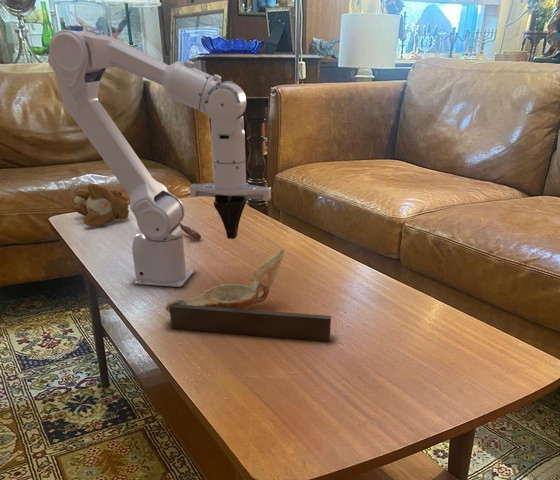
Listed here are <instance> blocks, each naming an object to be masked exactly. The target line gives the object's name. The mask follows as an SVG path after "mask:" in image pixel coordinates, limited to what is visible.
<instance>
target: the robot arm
mask: <svg viewBox="0 0 560 480" xmlns="http://www.w3.org/2000/svg"><path fill="white" fill-rule="evenodd" d="M47 57H48V58H47V63H48V65H49V67H50V68H51V69H52V70H53V72H54V75H55V79H56V82H57V87H58V90H59V93H60V97H61V101H62V103H63V106H64V108H65V109H66V111H68V112H67V113H69V114H70V116H71V117H72V118H73V120H74V121H75V123H76V124H77V126H78V127H79V128H80V130H82V132H83V133H84V135H85V137H86V139H88V140H89V142H90V143H91V145H92V146H93V148H94V149H95V150H96V151H97V154H99V156H100V157H101V158H102V160H103V161H104V163H105V164H106V165H107V167H108V168H109V169H110V171H111V172H112V174H113V175H114V176H115V178H116V180H118V182H119V183H120V185H121V186H122V187H123V189H124V190H125V191H126V193H127V195H128V196H129V209H130V211H131V212H132V213H133V215H134V218H135V219H136V223H137V227H138V229H139V231H140V232H141V233H137V234H136V235H135V236H134V237H133V240H132V245H131V246H132V247H131V249H132V251H131V252H132V260H133V266H134V267H133V268H134V275H135V279H136V280H135V281H134V284H135V285H145V286H161V287H173V288H181V287H182V286H184V285H185V283H186V282H187V281H188V280H189V279H190V277H191V276H192V275H193V274H194V270H193V269H187V266H186V256H185V255H186V254H185V246H184V245H185V244H184V243H185V242H184V234H183V230H182V229H181V227H180V223H181V222H182V221H183V220H184V217H185V207H184V204H183V203H182V201H181V199H179V198H178V197H177V196H176V195H175V194H172V193H171V192H170V191H169V190H168V189H167V188H166V186H165V184H163V183H161V182H159V181H157V180H156V179H154V178H153V176H152V175H151V174H150V172H149V170H148V169H147V167H146V166H145V165H144V163H143V162H142V160H141V159H140V158H139V156H138V155H137V153H136V152H135V151H134V149H133V148H132V146H131V145H130V143H129V142H128V140H127V139H126V137H125V136H124V134H122V132H121V130H120V129H119V127H118V126H117V125H116V123H115V121H113V119H112V118H111V116H110V115H109V113H108V112H107V110H106V108H104V105H102V103H101V102H100V100H99V90H100V85H101V84H100V83H101V82H102V79H103V77H104V75H105V73H106V70H107V69H108V68H109V69H110V68H117V69H120V70H123V71H125V72H127V73H130V74H133V75H135V76H138V77H140V78H143V79H146V80H148V81H151V82H153V83H156V84H157V85H160V86H162V87H163V90H164V91H165V93H166V95H167V97H168V98H170V99H172V100H174V101H177V102H179V103H181V104H183V105H186V106H188V107H190V108H192V109H195V110H197V111H198V112H201V113H202V114H203V113H206V114H207V116H208V118H209V119H210V129H211V130H210V131H211V132H210V138H211V155H212V173H213V183H192V184H190V185H189V195H190V197H191V198H197V197H203V198H204V197H205V198H214V201H213V206H214V208H215V210H216V212H217V214H218V215H219V217H220V219H221V221H222V224H223V226H224V230H225V233H226V237H227V239H228V240H229V239H230V240H235V239H236V238H237V237H238V231H239V225H240V222H241V217H242V215H243V211H244V208H245V207H246V204H247V201H248V200H262V201H265V202H270V200H271V199H272V187H269V186H260V185H253V184H247V171H246V169H247V168H246V167H247V166H246V136H245V133H246V132H245V128H244V127H245V122H244V116H243V114H244V112H245V111H246V108H247V96H246V93H245V91H244V90H243V89H242V88H241V87H240V86H239V85H238V84H236V82H234V81H232V80H226V81H223V82H222V76H221V75H219V74H215V73H214V74H213V75H212V74H209V73H207V72H205V71H203V70H200V69H198V68H196V67H195V62H193V61H191V60H188V59H186V60H184V62H183V61H181V60H177V61H175V62H174V63H171V64H168V63H165V62H163V61H161V60H159V59H157V58H155V57H153V56H151V55H149V54H147V53H145V52H144V51H141V50H139V49H137V48H135V47H134V46H132V45H129V44H128V43H125V42H123V41H122V40H120V39H117V38H115V37H112V36H109V35H105V34H100V33H99V32H97V31H94V30H89V29H87V30H81V31H80V30H70V29H60V30H58V31H56V32H55V33H54V34H53V35H52V37H51V38H50V42H49V48H48V56H47Z"/></svg>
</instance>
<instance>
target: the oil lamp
mask: <svg viewBox="0 0 560 480" xmlns="http://www.w3.org/2000/svg"><path fill="white" fill-rule="evenodd" d="M284 255H285V250H284V248H282V249H280V250H279V251H278V252H277V253H276V254H273V255H272V256H271V257H269V258H268V259H266V260H265V261H264V262H262V263H261V264H260V265H259V266H258V267H257V268H255V270H254V271H253V272H252V277H253V278H254V280H253V281H252V283H251V284H250V285H245V284H239V283H223V284H219V285H215V286H212V287H211V288H209V289H204V290H203V293H202V294H200V295H198V296H196V297H193V298H190V299H188V298H183V299H178V300H177V299H176V300H172V301H170V302H169V303H168V304H167V305H166V306H165V310H166V312H168V313H169V314H170V309H169V306H170V305H171V304H181V305H194V306H207V307H220V308H234V309H247V310H251V309H252V307H253V306H254V305H257V304H261V303H263V302H264V301H265V300H267V298H268V296H269V293H270V287H271V286H272V285H273V282H274V281H275V278H276V276H277V274H278V272H279V269H280V267H281V266H282V265H281V264H282V262H283V260H284ZM261 292H263V293H262V294H261V295H259V294H260V293H261Z"/></svg>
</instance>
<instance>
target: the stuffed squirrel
mask: <svg viewBox="0 0 560 480" xmlns="http://www.w3.org/2000/svg"><path fill="white" fill-rule="evenodd" d="M86 188H87V189H83V188H81V189H80V188H77V190H76V191H75V194H74V196H73V197H72V204H73V205H74V206H73V207H72V208H73V210H74V212H76V213H78V214H79V215H80V216H84V218H83V220H82V222H83V224H84V225H86V226H104V225H106V224H108V223H110V222H113V221H114V220H119V221H122V220H125V219H129V216H130V210H129V208H130V205H129V203H128V201H127V197H126V196H125V195H124V193H123V192H122V189H120V190H119V189H118V188H115V189H113V190H109V189H108V188H106V187H104V186H102V185H99V184H96V183H88V184H87V186H86Z"/></svg>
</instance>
